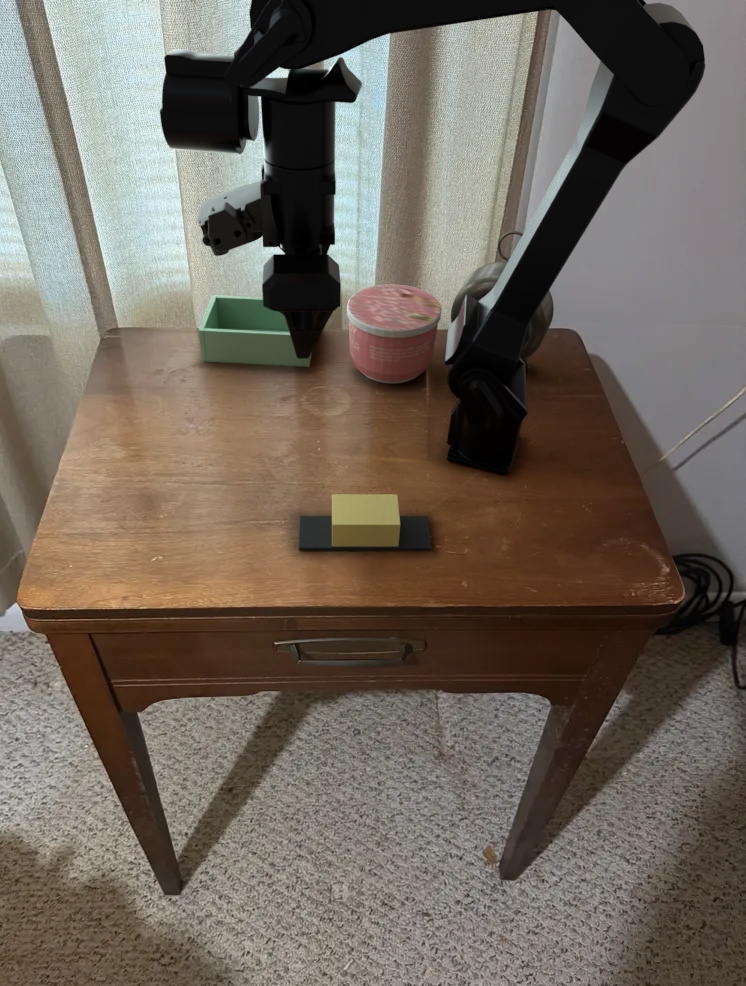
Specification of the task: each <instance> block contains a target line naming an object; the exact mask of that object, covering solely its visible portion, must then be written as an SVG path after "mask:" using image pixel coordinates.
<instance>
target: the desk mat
mask: <svg viewBox="0 0 746 986" xmlns="http://www.w3.org/2000/svg"><path fill="white" fill-rule="evenodd" d="M429 524H430V523H429V518H428V515H400V535H399V545H398V547H333V546H332V515H300V516H299V531H298V532H299V534H298V551H299V552H356V551H357V552H373V551H374V552H377V551H378V552H387V551H388V552H390V551H391V552H396V551H397V552H400V551H401V552H406V551H407V552H408V551H409V552H412V551H413V552H420V551H421V552H422V551H423V552H424V551H425V552H430V551H432V550H433V547H432V540H431V539H432V538H431V532H430V531H431V530H430V525H429Z"/></svg>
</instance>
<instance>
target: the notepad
mask: <svg viewBox="0 0 746 986" xmlns="http://www.w3.org/2000/svg"><path fill="white" fill-rule="evenodd" d="M399 505H400V503H399V496H398V494H397V493H396V494H392V493H391V494H387V493H386V494H379V493H377V494H373V493H370V494H369V493H368V494H364V493H363V494H359V493H357V494H354V493H353V494H351V493H350V494H349V493H348V494H345V493H344V494H341V493H340V494H338V493H337V494H331V516H332V546H333V547H398V545H399V535H400V516H401V514H400V506H399Z"/></svg>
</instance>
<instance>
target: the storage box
mask: <svg viewBox="0 0 746 986" xmlns="http://www.w3.org/2000/svg"><path fill="white" fill-rule="evenodd" d="M197 332H198V339H199V347H200V354H201V361H202V362H209V363H226V364H227V363H228V364H248V365H266V366H267V365H268V366H285V367H289V366H290V367H303V368H304V367H305V368H306V367H307V368H310V365H311V359H312V354H313V352H312V353H311V355H310V357H309V358H307V359H299V358H297V357H296V353H295V350H294V346H293V343H292V339H291V336H290V332H289V329H288V326H287V323H286V319H285V317H284V315H283V314H282V313H280V312H278V311H272V310H270V309H268V308H266V307H264V306H263V296H262V297H260V296H240V295H239V296H238V295H237V296H236V295H216V294H212V295H211V298H210V300H209V302H208V305H207V307H206V310H205V313H204V315H203V317H202V320H201V322H200V325H199V328H198V331H197Z"/></svg>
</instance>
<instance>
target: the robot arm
mask: <svg viewBox="0 0 746 986" xmlns="http://www.w3.org/2000/svg"><path fill="white" fill-rule="evenodd" d="M542 11H543V12H544V11H555V12H556V13H558V14H559V15H560V16H561V17H562V19H564V20H565V21H566V23H568V24H569V26H570V27H571V28H572V29H573V30H574V32H575V33H576V34H577V35H578V36H579V37H580V38H581V40H582V41H583V42H584V44H585V45H586V46H588V48H589V50H591V51H592V52H593V54H594V55H595V56H596V58H598V60H599V61H600V62H599V64H598V66H597V70H596V73H595V75H594V78H593V80H592V84H591V87H590V91H589V95H588V97H587V101H586V105H585V108H584V112H583V116H582V119H581V123H580V127H579V130H578V132H577V134H576V137H575V139H574V141H573V142H572V144H571V146H570V147H569V150H568V151H567V153H566V155H565V156H564V158H563V160H562V162H561V164H560V166H559V168H558V170H557V171H556V173H555V175H554V177H553V179H552V180H551V183H550V184H549V186H548V188H547V190H546V191H545V194H544V195H543V197H542V199H541V201H540V202H539V204H538V206H537V208H536V209H535V212H534V214H533V215H532V217H531V219H530V220H529V222H528V224H527V226H526V228H525V230H524V231H523V232H522V233H523V235H522V237H521V236H520V239H519V240H518V242H517V244H516V246H515V248H514V250H513V252H512V253H511V255H510V256H511V257H510V256H509V257H510V259H509V261H508V263H507V264H506V266H505V268H504V270H503V272H502V273H501V275H500V277H499V279H498V281H497V283H496V284H495V286H494V287H493V289H492V290H491V291H490V292H489V293H488V294H487V295H485V296H484V297H483V298H482V299H481V300H479V301H477V300H475V299H474V298H472V297H471V296H469V295H466V296H465V298H464V301H463V304H462V307H461V310H460V313H459V315H458V316H457V318H456V319H455V321H454V322H452V323H451V322H450V324H449V325H448V326H447V330H446V331H447V332H446V342H445V355H444V364H445V366H447V369H446V384H447V387H448V389H449V391H450V392H451V394H452V395H453V396H454V397H455V398H456V399H457V400H456V401H455V404H454V406H453V408H452V410H451V412H450V416H449V417H450V418H449V424H448V425H449V426H448V432H447V438H446V444H447V445H448V446H450V447H449V449H448V451H447V453H446V460H447V461H448V462H450V463H454V464H457V465H462V466H466V467H470V468H473V469H478V470H482V471H486V472H491V473H494V474H498V475H501V476H508V475H509V474H510V471H511V469H512V466H513V463H514V460H515V459H516V455H517V452H518V449H519V446H520V444H521V441H522V436H521V430H522V425H523V421H524V420H525V418H526V417H527V415H528V397H527V375H526V374H527V373H526V371H527V370H526V369H525V362H524V361H523V360H522V359H521V358H520V354H521V350H522V347H523V343H524V340H525V336H526V333H527V329H528V326H529V323H530V321H531V319H532V317H533V315H534V314H535V312H536V311H537V309H538V307H539V306H540V304H541V302H542V301H543V299H544V297H545V296H546V294H547V293H548V291H550V289H551V287H552V286H553V285H554V283H555V281H556V280H557V278H558V276H559V275H560V273H561V271H563V268H564V267H565V264H566V263H567V262H568V260H569V258H570V256H571V255H572V254H573V252H574V250H575V248H576V247H577V245H578V243H579V242H580V240H581V238H582V237H583V235H584V234H585V232H586V230H587V229H588V227H589V226H590V224H591V222H592V220H593V219H594V217H595V216H596V213H598V211H599V209H600V207H601V205H602V204H603V202H604V201H605V199H606V198H607V196H608V195H609V192H610V191H611V190H612V187H613V186H614V185H615V183H616V181H617V180H618V178H619V176H620V174H621V173H622V172H623V170H624V169H625V168H626V167H627V166H628V165H629V163H630V162H632V160H634V158H635V159H636V157H637V156H638V155H639V154H641V153H642V152H643V151H644V150H645V149H646V148H647V147H649V146H650V145H651V144H653V142H655V141H656V140H657V139H658V138H659V137H660V136H661V135H662V134H663V132H664V131H665V130H666V129H667V128H668V127H669V126H670V124H671V123H672V122H673V121H674V119H675V118H676V117H677V116H678V115H679V114H680V112H681V111H682V110H683V108H684V107H686V105H687V104H688V103H689V101H690V100H691V99H692V98H693V96H694V95H695V94H696V93H697V90H698V88H699V86H700V84H701V82H702V80H703V77H704V75H705V74H704V73H705V69H706V58H705V50H704V45H703V42H702V41H701V38H700V37H699V35H698V34H697V31H696V30H695V29H694V27H692V25H691V24H690V23H689V21H688V20H687V19H686V18H685V16H684V15H683V13H682V12H681V11H679V10H678V9H677V8H675V7H674V6H673V5H671V4H666V3H662V2H653V3H647V2H646V1H645V0H251V2H250V7H249V25H250V31H249V33H248V34H247V35H246V38H245V39H244V41H243V42H242V43H241V44H240V46H239V47H237V48H236V50H234V52H233V55H231V54H216V53H202V52H201V53H200V52H195V51H193V50H191V49H184V48H172V49H171V50H170V51H169V52H168V53H166V54H165V55H164V57H163V61H164V68H165V69H164V70H165V75H164V79H163V82H162V91H161V95H162V96H161V106H162V107H161V108H160V109H159V117H160V124H161V130H162V134H163V137H164V139H165V142H166V144H167V145H168V147H169V148H170V149H172V150H175V151H188V152H190V151H191V152H205V153H216V154H217V153H218V154H229V155H242V154H243V153H244V152H245V148H246V145H247V142H255V141H256V139H258V134H259V129H260V128H259V127H260V107H261V127H262V129H261V130H262V148H263V164H261V179H260V180H258V181H255V182H251V183H247V184H243V185H240V186H237V187H235V188H232V189H229V190H227V191H223V192H222V193H219V194H216V195H214V196H211V197H209V198H207V199H205V200H204V201H203V202H202V203H200V206H199V209H198V210H199V211H198V215H197V223H198V225H199V227H200V229H201V232H202V243H203V245H204V246H207V247H209V248H210V250H211V252H212V254H213V256H215V257H221V256H224V255H227V254H229V252H230V251H231V250H233V249H237V248H240V247H242V246H245V245H248V244H251V243H253V242H256V241H257V240H259V239H260V238H262V247H263V248H279V249H280V250H281V251H282V252H283V254H281V253H279V254H278V253H277V254H273V255H272V256H271V257H270V258H269V259H268V260H267V261H266V262H265V263H264V264H263V265H262V280H261V290H262V291H261V292H262V298H263V306H264V307H266V308H268V309H270V310H272V311H278V312H280V313H282V314H283V315H284V317H285V319H286V323H287V326H288V329H289V332H290V336H291V339H292V343H293V346H294V350H295V353H296V357H297V358H299V359H307V358H309V357H310V355H311V353H312V354H313V351H314V349H315V347H316V345H317V343H318V341H319V339H320V337H321V335H322V333H323V331H324V329H325V327H326V326H327V323H328V322H329V320H330V318H331V317H332V314H333V313H334V311H336V310H337V309H338V308H339V307H341V293H342V291H341V290H342V289H341V287H342V284H341V272H340V271H341V270H340V264H339V263H338V262H337V261H335V259H333V258H332V257H331V255H330V254H328V252H329V250H330V247H331V246H335V245H336V230H335V229H336V227H335V196H336V195H337V194H336V193H337V192H336V191H337V183H336V182H337V180H336V170H335V169H336V168H335V167H336V106H337V105H336V104H337V103H345V104H353V103H355V102H356V101H357V99H358V96H359V94H360V92H361V90H362V88H363V83H362V81H361V79H360V78H358V77H357V76H356V75H355V74H354V73H353V72H352V71H351V70H350V68H349V67H348V65H347V64H346V62H345V59H344V57H342V56H341V55H343V54H345V53H347V52H349V51H351V50H353V49H356V48H357V47H359V46H361V45H364V44H366V43H369V42H371V41H372V40H375V39H378V38H381V37H383V36H386V35H390V34H397V33H403V32H409V31H416V30H422V29H423V30H424V29H429V28H430V29H431V28H437V27H444V26H450V25H456V24H461V23H462V24H463V23H464V24H465V23H469V22H470V23H471V22H477V21H483V20H489V19H496V18H503V17H510V16H517V15H522V14H530V13H536V12H542ZM338 56H339V57H338ZM335 57H337V58H336V60H335V61H334V62H333V64H332V65H331V66H330V67H329V68H315V67H312V68H311V67H310V66H313V65H316V64H318V63H321V62H324V61H326V60H327V61H328V60H330V59H333V58H335ZM280 68H281V69H284V70H289V72H288V73H287V77H268V76H269V75H271V74H272V73H273V72H275V71H276V70H277V69H280ZM259 97H260V100H259ZM311 356H312V355H311Z"/></svg>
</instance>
